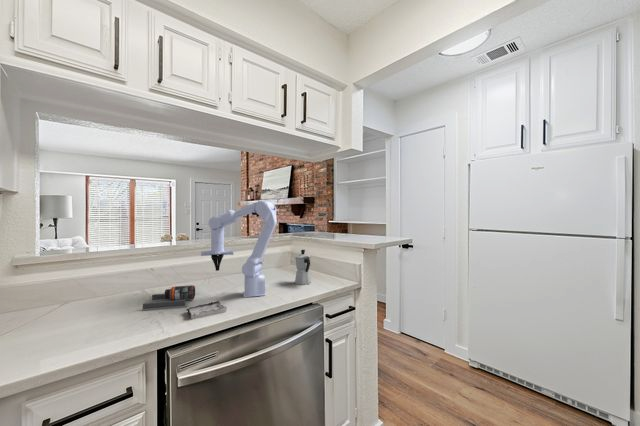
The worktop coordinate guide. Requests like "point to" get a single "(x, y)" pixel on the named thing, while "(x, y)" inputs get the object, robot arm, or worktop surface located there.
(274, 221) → the robot arm
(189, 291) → the supplement bottle
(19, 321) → the worktop surface
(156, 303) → the mat
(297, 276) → the coffee maker
